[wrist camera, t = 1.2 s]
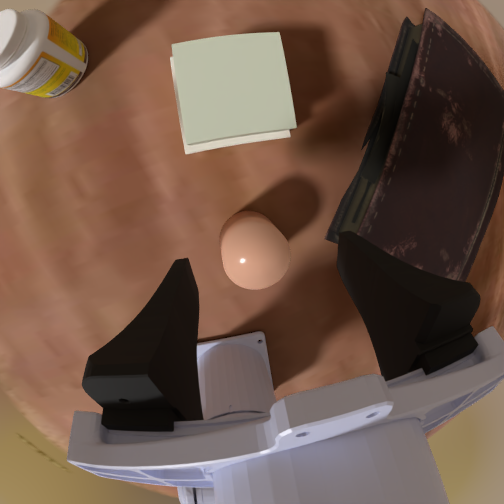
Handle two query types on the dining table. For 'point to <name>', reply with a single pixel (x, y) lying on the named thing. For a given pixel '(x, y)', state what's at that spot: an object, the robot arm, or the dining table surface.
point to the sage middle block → (233, 87)
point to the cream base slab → (226, 141)
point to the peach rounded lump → (253, 250)
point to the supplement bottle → (39, 54)
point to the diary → (429, 155)
